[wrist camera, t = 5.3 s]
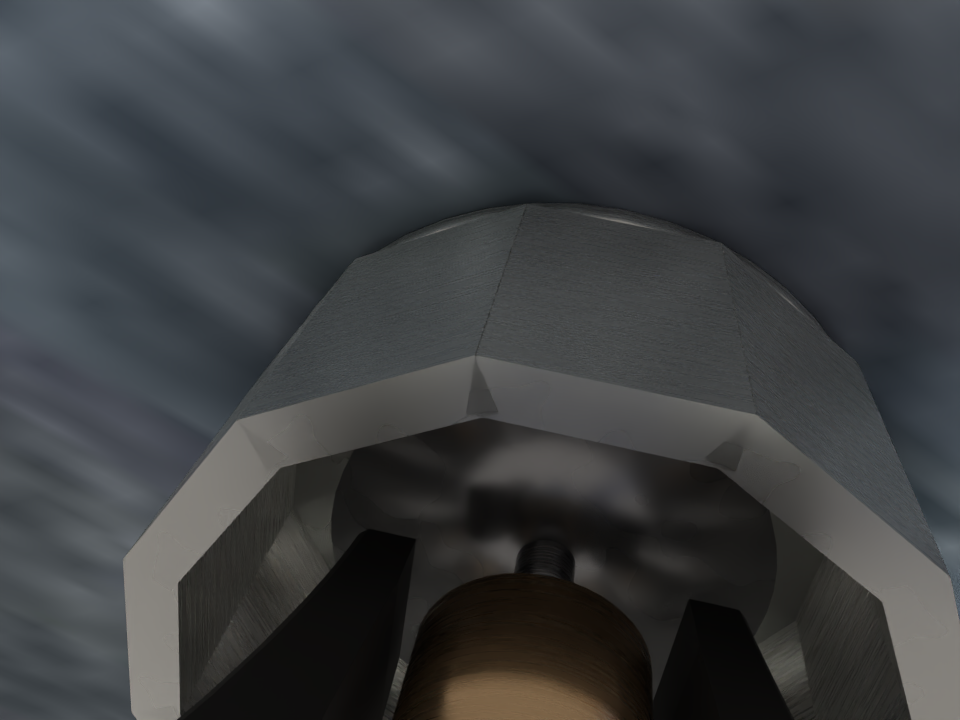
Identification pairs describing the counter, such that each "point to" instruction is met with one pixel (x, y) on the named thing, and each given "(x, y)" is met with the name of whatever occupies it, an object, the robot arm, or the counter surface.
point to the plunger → (550, 566)
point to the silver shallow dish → (568, 411)
